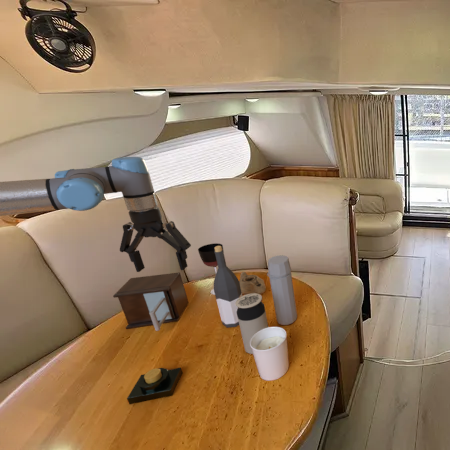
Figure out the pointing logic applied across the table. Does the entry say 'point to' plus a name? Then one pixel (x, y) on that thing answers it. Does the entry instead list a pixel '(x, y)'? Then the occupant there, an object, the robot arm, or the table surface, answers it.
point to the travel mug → (251, 317)
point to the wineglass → (209, 256)
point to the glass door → (159, 308)
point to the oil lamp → (251, 284)
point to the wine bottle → (226, 290)
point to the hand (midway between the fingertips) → (162, 269)
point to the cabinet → (136, 287)
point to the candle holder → (270, 352)
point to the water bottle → (282, 289)
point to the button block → (155, 386)
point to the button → (152, 375)
